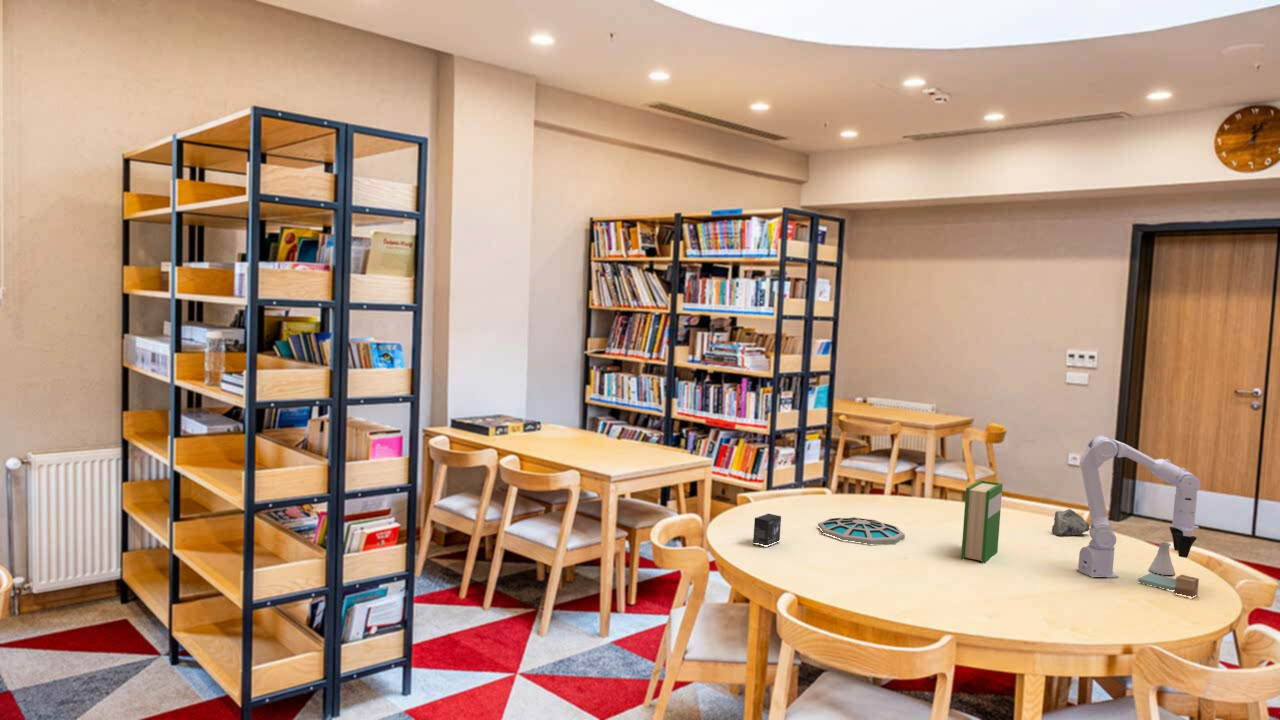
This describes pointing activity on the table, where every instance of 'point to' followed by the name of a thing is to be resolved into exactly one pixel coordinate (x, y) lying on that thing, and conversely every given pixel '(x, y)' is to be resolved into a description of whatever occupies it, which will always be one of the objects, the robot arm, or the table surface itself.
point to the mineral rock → (1069, 523)
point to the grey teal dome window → (862, 530)
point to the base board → (1158, 581)
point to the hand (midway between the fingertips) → (1180, 553)
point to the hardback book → (981, 520)
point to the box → (767, 529)
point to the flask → (1162, 561)
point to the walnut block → (1186, 585)
